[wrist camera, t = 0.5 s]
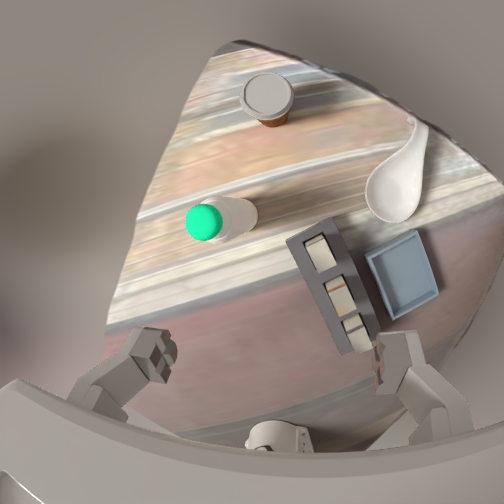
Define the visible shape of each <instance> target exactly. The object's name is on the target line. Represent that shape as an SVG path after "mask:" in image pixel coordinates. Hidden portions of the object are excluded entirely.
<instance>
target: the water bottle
mask: <svg viewBox="0 0 504 504" xmlns="http://www.w3.org/2000/svg"><path fill="white" fill-rule="evenodd" d="M185 218H186V219H185V224H186V225H185V227H186V230H187V232H188V233H189V235H191V237H193V238H194V239H196V240H200V241H208V242H211V243H216V244H219V243H224V242H227V241H229V240H231V239H233V238H235V237H237V236H239V235H241V234H244V233H246V232H248V231H250V230H251V229H252V228H253V227H254V226H255V225H256V223H257V219H258V213H257V209H256V207H255V206H254V205H253V204H252V203H251V202H250V201H248V200H246V199H239V198H231V197H222V196H213V197H210V198H207V199H206V200H204V201H203V202H202V203H201V204H198V205H195V206H194V207H192V208H191V209H190V210H189V211H188V213H187V214H186V217H185Z"/></svg>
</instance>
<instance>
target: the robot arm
mask: <svg viewBox="0 0 504 504" xmlns="http://www.w3.org/2000/svg"><path fill="white" fill-rule="evenodd" d="M170 337H171V334H170V332H169V330H166V329H158V328H151V327H143V326H135V327H134V328H133V329H132V331H131V333H130V335H129V336H128V338H127V340H126V342H125V343H124V345H123V347H122V349H121V350H120V352H119V353H115V354H114V355H113V356H111V357H110V358H108V359H107V360H105V361H104V362H102V363H101V364H99V365H98V366H96V367H95V368H93V369H92V370H90V371H89V372H87V373H86V374H85V375H83V376H82V377H80V378H78V380H77V382H76V384H75V386H74V387H73V389H72V391H71V392H70V394H69V396H68V398H67V400H65V399H63V398H60V397H58V396H56V395H54V394H52V393H50V392H48V391H46V390H43V389H41V388H39V387H38V386H36V385H34V384H32V383H30V382H28V381H27V380H25V379H22V378H18V379H15V380H14V381H12V382H10V383H9V384H7V385H6V386H4V387H3V388H2V389H0V504H504V421H502V422H499V423H497V424H494V425H491V426H488V427H485V428H482V429H478V430H475V431H474V429H473V424H472V419H471V414H470V409H469V405H468V401H467V400H466V399H465V398H464V397H463V396H462V395H461V394H460V393H459V392H458V391H457V390H456V389H455V388H454V387H453V386H452V385H451V384H450V383H448V381H446V379H444V377H442V376H441V375H440V374H439V373H438V372H437V371H436V370H435V369H434V368H433V367H432V366H431V365H430V364H428V365H426V362H425V358H424V354H423V350H422V346H421V343H420V339H419V336H418V332H417V331H416V330H409V331H395V332H383V333H378V334H377V336H376V346H374V348H373V354H372V368H373V371H374V372H375V373H376V375H375V378H374V387H375V395H378V394H393V393H396V395H397V396H398V398H399V399H400V400H401V402H402V403H403V404H404V406H405V407H406V408H407V410H408V411H409V412H410V414H411V415H412V416H413V418H414V419H415V420H416V421H417V423H418V424H419V426H418V428H417V429H416V430H415V431H414V432H413V434H412V435H411V436H410V437H409V446H403V447H397V448H389V449H380V450H370V451H357V452H338V453H315V452H314V449H313V445H312V442H311V439H310V435H309V432H308V429H307V428H306V427H302V426H295V425H292V424H290V423H287V422H283V421H276V420H272V421H265V422H261V423H259V424H257V425H255V426H254V427H253V428H252V429H251V431H250V435H249V439H248V440H247V441H246V442H245V447H246V448H247V449H243V448H235V447H228V446H221V445H215V444H209V443H203V442H198V441H193V440H188V439H184V438H179V437H175V436H170V435H166V434H162V433H159V432H155V431H151V430H147V429H144V428H140V427H137V426H134V425H130V424H127V423H126V421H127V419H128V415H127V413H126V412H125V411H124V410H123V409H122V408H121V407H123V406H124V405H125V404H126V403H127V402H128V401H129V400H130V399H131V398H133V397H134V396H135V395H136V394H137V393H138V392H139V391H140V390H141V389H142V388H144V387H145V386H146V385H147V384H148V383H149V381H151V382H157V383H163V384H166V383H167V381H168V378H169V376H170V373H171V369H170V366H172V365H173V364H174V363H175V361H176V359H177V346H176V344H175V342H174V341H172V340H171V339H170ZM303 433H305V434H303Z"/></svg>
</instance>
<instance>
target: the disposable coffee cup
mask: <svg viewBox="0 0 504 504" xmlns="http://www.w3.org/2000/svg"><path fill="white" fill-rule="evenodd" d="M293 101H294V91H293V88H292V86H291V84H290V83H289V82H288V81H287V80H286V79H285V78H284V77H282V76H280V75H278V74H275V73H271V72H263V73H258V74H256V75H253V76H252V77H250V78H249V79H248V80H247V81H246V82H245V83H244V85H243V87H242V88H241V91H240V104H241V106H242V108H243V109H244V111H245V112H246V113H247V114H248V115H250V116H251V117H253V118H256V119H257V120H259V121H260V122H261V123H262V124H263V125H265V126H267V127H278V126H280V125H282V124H283V123H284V122H285V121H286V119H287V117H288V112H289V109H290V108H291V106H292V104H293Z"/></svg>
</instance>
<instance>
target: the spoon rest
mask: <svg viewBox="0 0 504 504" xmlns="http://www.w3.org/2000/svg"><path fill="white" fill-rule="evenodd" d="M407 121H408V123H409V124H411V125H412V126H414V130H413V133H412V135H411V138H410V139H409V141H408V142H407V143H406V145H405V146H403V147H402V148H401V149H400V150H399V151H397V152H396V153H394V154H393V155H391V156H390V157H388V158H387V159H385V160H384V161H383V162H382V163H380V164H379V165H378V166H377V167H376V168H375V169H374V170H373V171H372V173H371V174H370V176H369V177H368V179H367V182H366V186H365V198H366V202H367V205H368V207H369V209H370V210H371V212H372V213H373V214H374V215H375V216H376V217H378V218H379V219H381V220H383V221H385V222H388V223H400V222H403V221H405V220H407V219H408V218H409V217H410V216H411V215H412V214H413V213H414V212H415V210H416V208H417V206H418V204H419V201H420V197H421V191H422V180H423V165H424V155H425V149H426V145H427V140H428V134H429V127H428V126H427V125H425V124H424V123H422V122H420V121H419V120H417V119H416V118H415V117H408V118H407Z"/></svg>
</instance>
